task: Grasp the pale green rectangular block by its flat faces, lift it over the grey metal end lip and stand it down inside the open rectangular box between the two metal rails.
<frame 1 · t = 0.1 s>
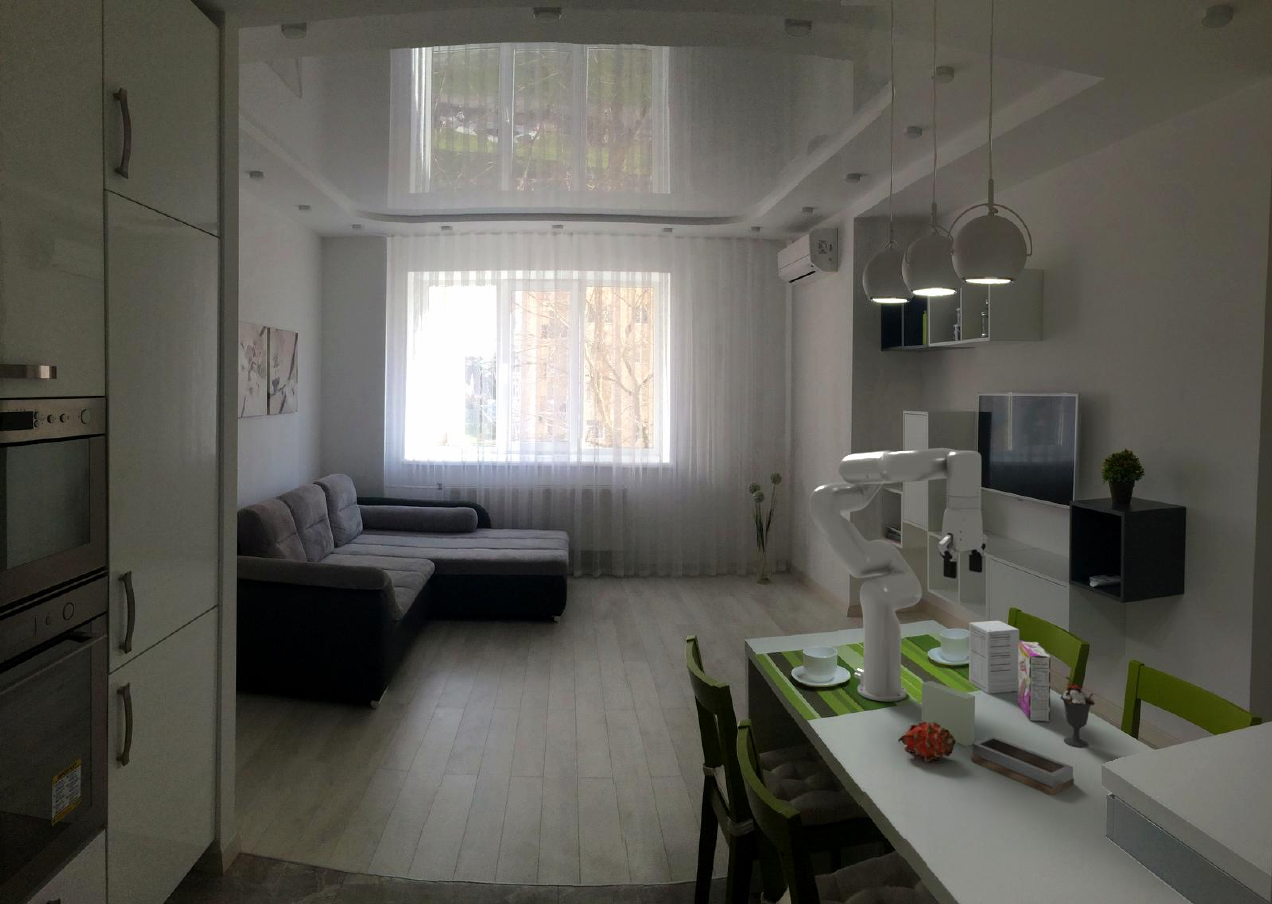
hand: (962, 574, 190), 37 cm above the table, tool pointing down, fingers open, 9 cm apart
dragon fruit: (926, 758, 176), on the table
candy bar box: (1032, 713, 199), on the table
pale green rectangular block: (947, 735, 187), on the table
sundae: (1075, 743, 182), on the table
supplement box: (993, 687, 217), on the table
open rectangular box: (1020, 771, 169), on the table
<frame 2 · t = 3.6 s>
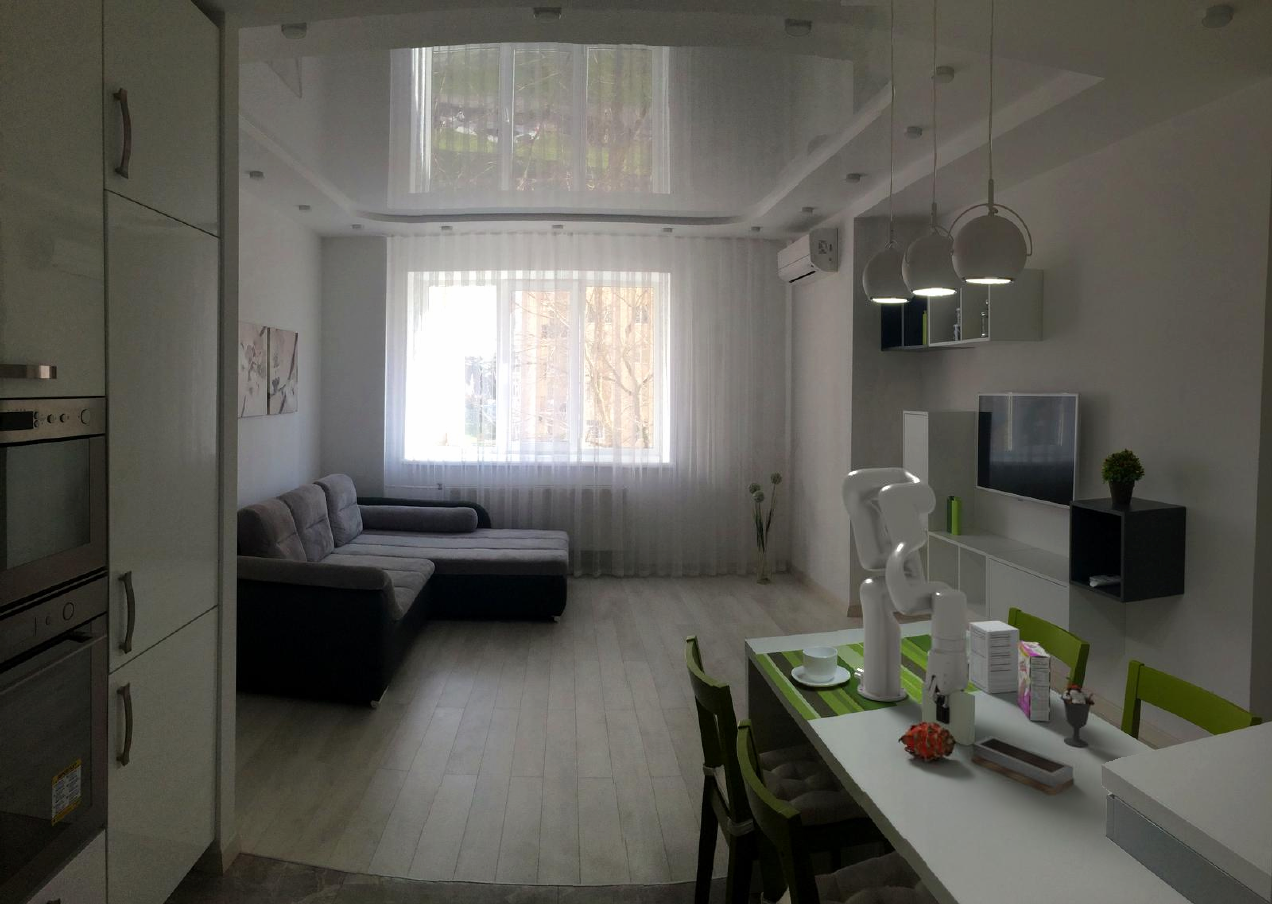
hand: (947, 719, 187), 4 cm above the table, tool pointing down, fingers closed on pale green rectangular block, 3 cm apart
pale green rectangular block: (947, 735, 187), on the table, touching gripper
everything else where it was.
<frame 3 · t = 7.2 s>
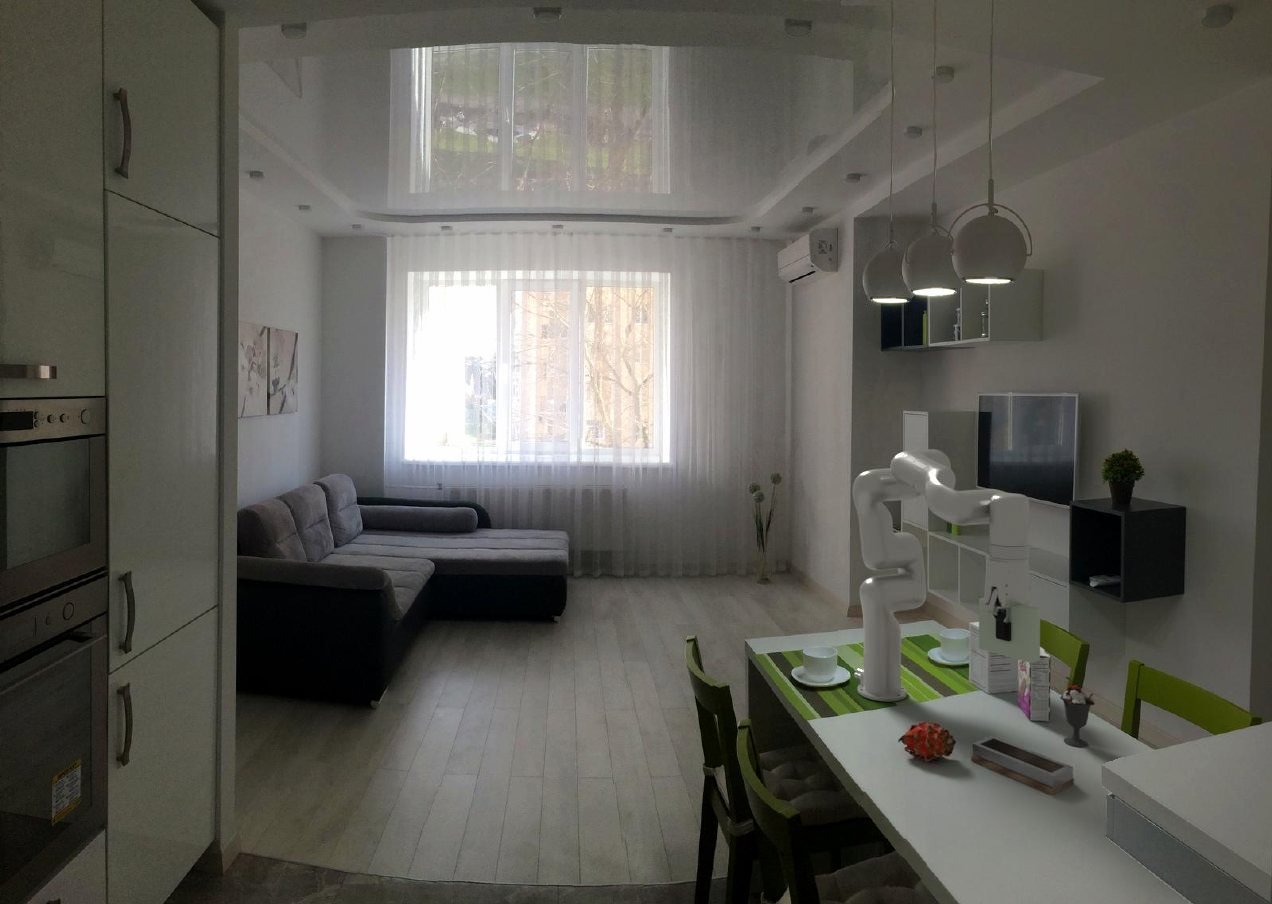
hand: (1008, 637, 170), 28 cm above the table, tool pointing down, fingers closed on pale green rectangular block, 3 cm apart
pale green rectangular block: (1008, 654, 170), point 24 cm above the table, touching gripper
everything else where it was.
when the fingers open (6 cm above the table, at t = 10.9 s): pale green rectangular block stays where it is, resting on open rectangular box.
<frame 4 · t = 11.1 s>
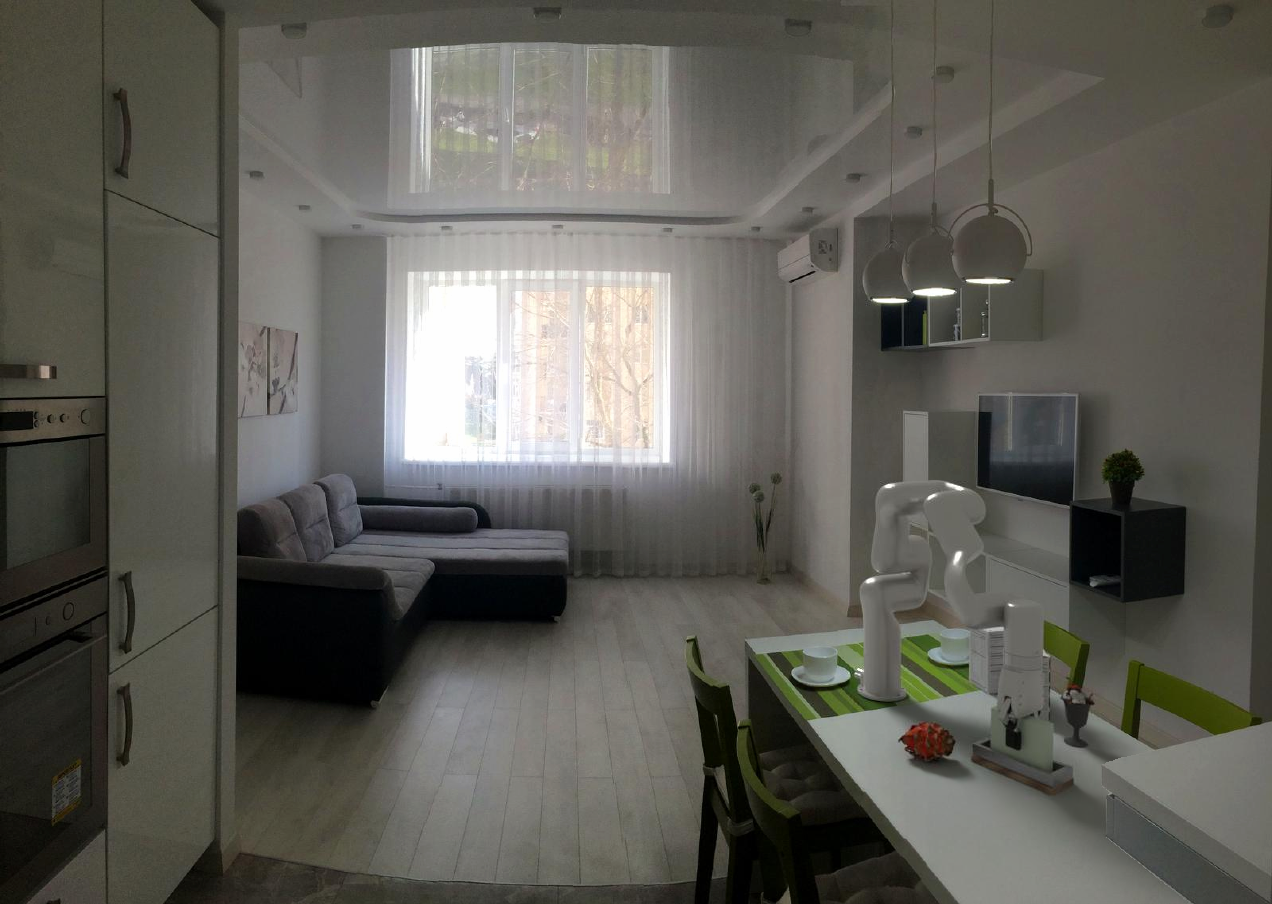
hand: (1021, 743, 168), 6 cm above the table, tool pointing down, fingers open, 4 cm apart
pale green rectangular block: (1020, 766, 169), point 1 cm above the table, touching open rectangular box
everything else where it was.
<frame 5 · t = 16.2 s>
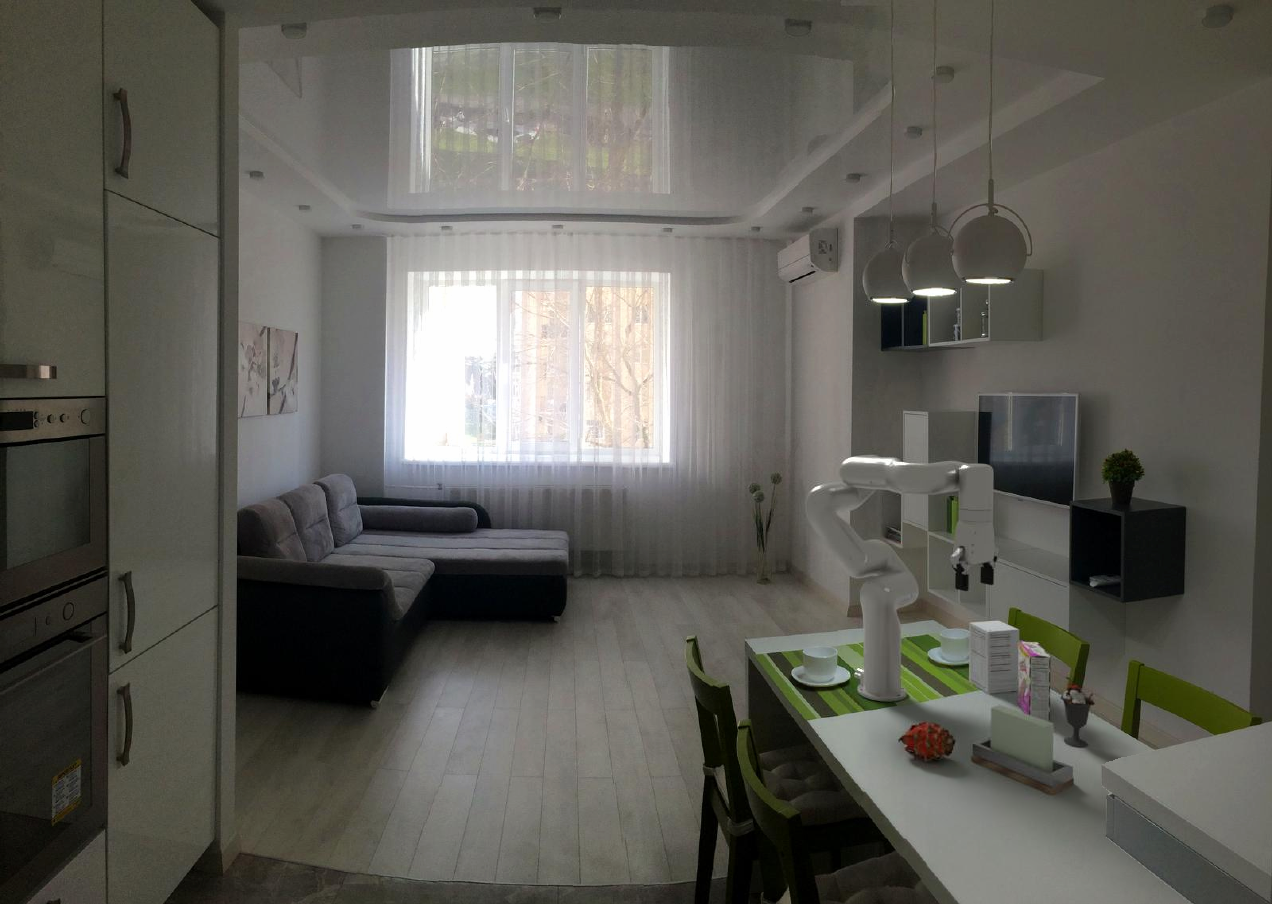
hand: (974, 586, 191), 33 cm above the table, tool pointing down, fingers open, 9 cm apart
nothing on the table moved.
at the end: pale green rectangular block 0.0 cm off-centre on the open rectangular box, point 1.2 cm above the open rectangular box's base; pale green rectangular block tilted 0°; the gripper is holding nothing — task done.
